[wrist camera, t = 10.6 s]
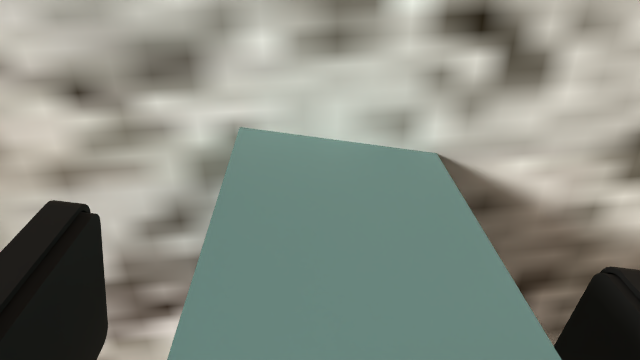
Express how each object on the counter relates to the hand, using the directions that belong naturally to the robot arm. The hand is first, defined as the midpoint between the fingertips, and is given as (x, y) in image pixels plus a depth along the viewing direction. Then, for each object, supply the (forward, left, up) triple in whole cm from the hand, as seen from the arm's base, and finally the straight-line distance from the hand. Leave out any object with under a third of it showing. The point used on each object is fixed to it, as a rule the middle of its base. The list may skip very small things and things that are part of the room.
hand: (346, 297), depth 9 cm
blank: (0, 0, -3) cm, 3 cm away
